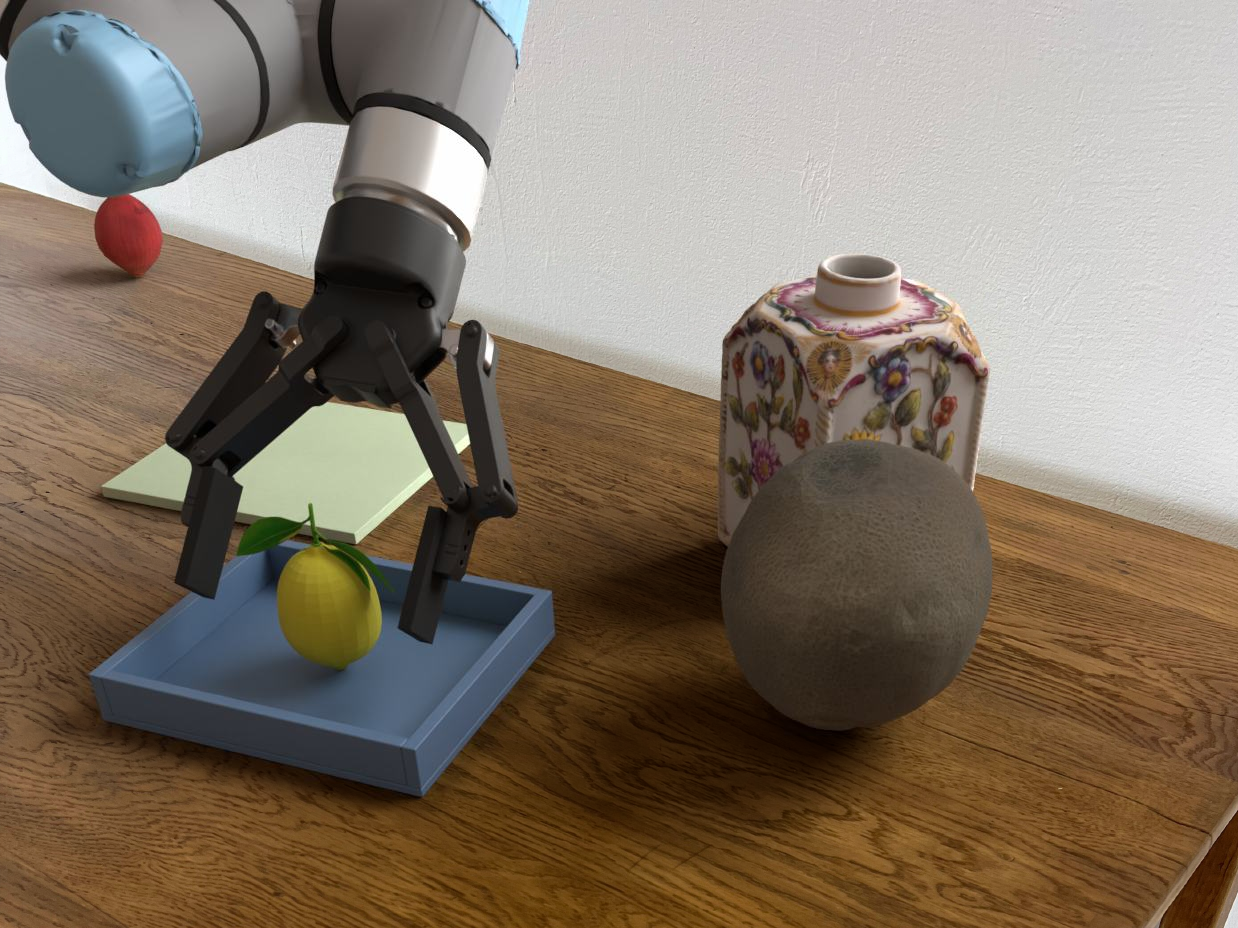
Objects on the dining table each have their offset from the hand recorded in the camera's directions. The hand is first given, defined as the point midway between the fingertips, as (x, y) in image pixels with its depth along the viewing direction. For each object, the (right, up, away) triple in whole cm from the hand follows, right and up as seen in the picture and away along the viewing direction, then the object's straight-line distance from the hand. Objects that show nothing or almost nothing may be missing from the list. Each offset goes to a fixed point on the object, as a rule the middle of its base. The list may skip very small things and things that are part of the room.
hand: (301, 614), depth 72 cm
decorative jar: (+30, +7, +15) cm, 35 cm away
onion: (-30, +43, +56) cm, 77 cm away
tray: (+1, -2, +5) cm, 6 cm away
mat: (-7, +16, +25) cm, 31 cm away
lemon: (+1, -2, +5) cm, 5 cm away
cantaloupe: (+29, -5, +2) cm, 30 cm away
